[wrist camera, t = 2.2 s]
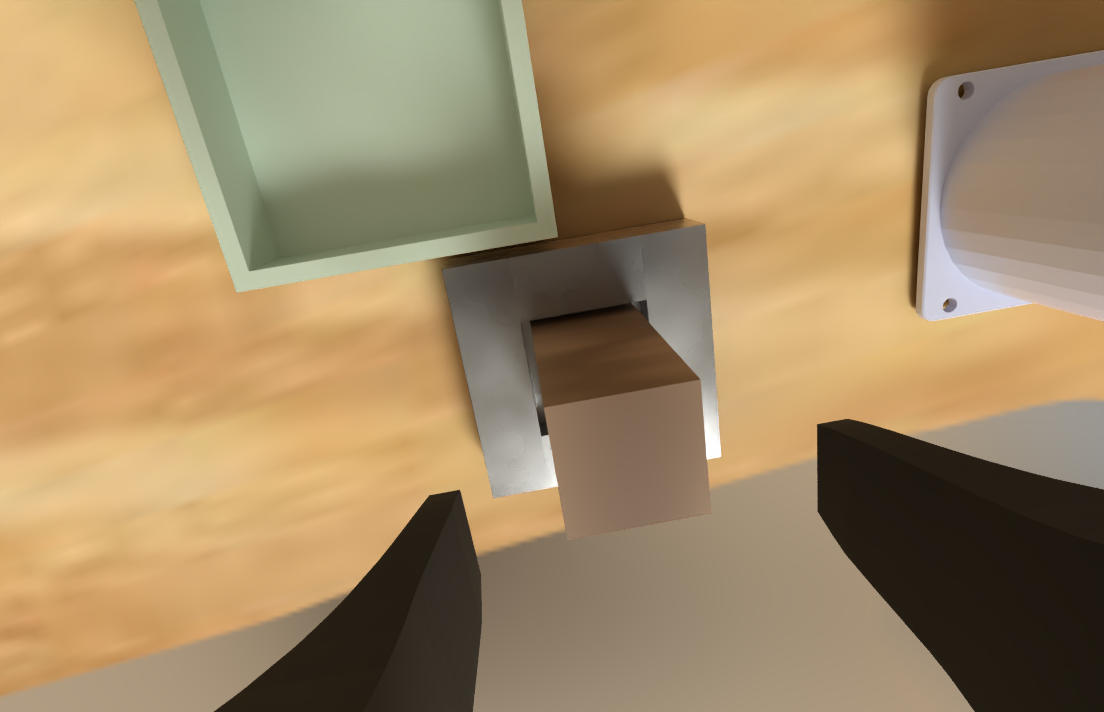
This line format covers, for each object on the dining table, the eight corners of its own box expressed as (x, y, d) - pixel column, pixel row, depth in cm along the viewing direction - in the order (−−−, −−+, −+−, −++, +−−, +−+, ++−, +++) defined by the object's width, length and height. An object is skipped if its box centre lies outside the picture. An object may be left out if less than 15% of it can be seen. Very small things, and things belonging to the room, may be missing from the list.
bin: (498, -101, 16) (497, -160, 13) (550, 225, 19) (558, 236, 16) (173, -50, 16) (100, -98, 13) (277, 272, 19) (236, 292, 16)
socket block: (685, 218, 19) (705, 224, 17) (702, 431, 22) (721, 456, 20) (448, 259, 19) (441, 269, 17) (494, 468, 21) (493, 498, 20)
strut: (631, 303, 19) (700, 379, 12) (642, 396, 20) (711, 513, 13) (529, 321, 19) (543, 407, 12) (546, 414, 20) (567, 539, 13)
